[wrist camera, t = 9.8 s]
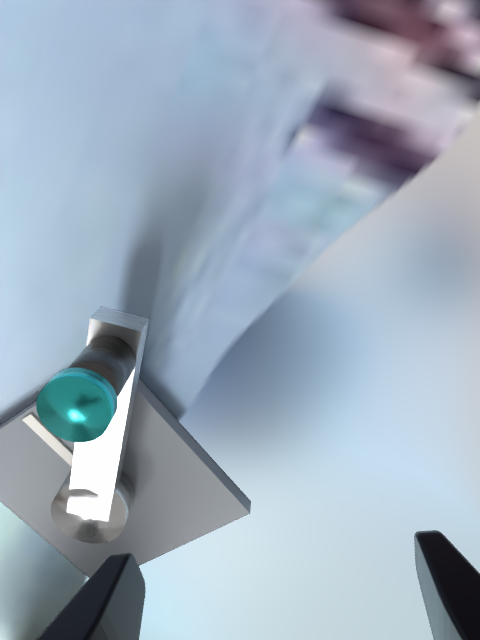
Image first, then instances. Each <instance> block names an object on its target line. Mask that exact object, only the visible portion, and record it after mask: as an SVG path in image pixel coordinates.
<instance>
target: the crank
mask: <svg viewBox="0 0 480 640" xmlns="http://www.w3.org/2000/svg"><path fill="white" fill-rule="evenodd" d="M148 324H149V318H145V317H141V316H137V315H133V314H129V313H125V312H122V311H118V310H114V309H110V308H106V307H102V306H101V307H100V308H99V309H98V310H97V311H96V312H95V313H94V314H93V315H92V317H91V318H90V322H89V330H88V339H87V347H86V348H85V349H84V350H83V351H82V353H81V354H80V355H79V356H78V357H77V359H76V360H75V361H74V362H73V363H72V365H71V366H70V367H69V368H67V369H64V370H62V371H60V372H58V373H57V374H56V375H54V376H53V378H52V379H51V380H50V381H49V382H48V383H47V385H46V386H45V387H44V388H43V389H42V390H41V392H40V393H39V395H38V397H37V402H36V409H37V413H38V416H39V418H40V420H41V422H42V423H43V425H44V426H45V427H46V428H47V429H48V430H49V431H50V432H52V433H53V434H54V435H56V436H58V437H60V438H62V439H64V440H67V441H71V442H75V448H74V457H73V465H72V470H71V471H70V472H69V474H68V476H67V477H66V479H65V481H64V482H63V484H62V486H61V488H60V489H59V491H58V493H57V494H56V496H55V498H54V499H53V501H52V504H51V508H50V512H51V516H52V519H53V521H54V523H55V524H56V526H57V527H58V528H59V529H60V530H61V531H62V532H63V533H65V534H66V535H68V536H69V537H71V538H73V539H75V540H78V541H81V542H85V543H92V544H99V543H106V542H109V541H112V540H114V539H115V538H117V537H118V536H119V535H120V534H121V532H122V531H123V529H124V526H125V523H126V521H127V518H128V515H129V512H130V510H131V507H132V504H133V502H134V498H135V491H134V487H133V485H132V483H131V481H130V480H129V478H128V477H127V476H126V475H125V474H124V473H122V467H123V462H124V456H125V451H126V445H127V440H128V434H129V429H130V423H131V418H132V412H133V406H134V401H135V395H136V390H137V384H138V379H139V373H140V368H141V362H142V357H143V351H144V346H145V340H146V335H147V329H148Z"/></svg>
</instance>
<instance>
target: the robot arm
mask: <svg viewBox="0 0 480 640" xmlns="http://www.w3.org/2000/svg"><path fill="white" fill-rule="evenodd" d="M414 541H415V561H416V570H417V575H418V579H419V584H420V588H421V591H422V595H423V599H424V603H425V607H426V611H427V615H428V618H429V623H430V627H431V630H432V634H433V638H434V640H480V573H479V572H478V571H477V570H476V569H475V568H474V567H473V566H472V565H471V564H470V563H469V562H468V560H467V559H466V558H465V557H464V556H463V555H462V554H461V553H460V552H459V551H458V550H457V549H456V548H455V547H454V546H453V544H452V543H451V542H450V541H449V540H448V539H447V538H446V537H445V536H444V535H443V534H442V533H441V532H439V531H435V530H433V531H419V532H416V533H415V536H414ZM144 599H145V581H144V578H143V576H142V573H141V571H140V568H139V566H138V563H137V561H136V558H135V556H134V555H133V554H132V553H129V552H128V553H115V554H112V555H110V556H109V557H108V558H107V559H106V560H105V561H104V562H103V563H102V565H101V566H100V567H99V568H98V569H97V570H96V572H95V573H94V574H93V575H92V576H91V577H90V579H89V580H88V581H87V582H86V583H85V584H84V585H83V587H82V588H81V589H80V590H79V591H78V592H77V594H76V595H75V596H74V597H73V598H72V599H71V601H70V602H69V603H68V604H67V605H66V606H65V607H64V609H63V610H62V611H61V612H60V613H59V614H58V616H57V617H56V618H55V619H54V620H53V621H52V623H51V624H50V625H49V626H48V627H47V628H46V630H45V631H44V632H43V633H42V634H41V635H40V636H39V638H38V639H37V640H139V635H140V628H141V620H142V612H143V605H144Z"/></svg>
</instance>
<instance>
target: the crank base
mask: <svg viewBox="0 0 480 640" xmlns="http://www.w3.org/2000/svg"><path fill="white" fill-rule="evenodd" d="M36 402H37V401H35V402H34V403H32V404H31V405H29V406H28V407H26V408H25V409H23V410H22V411H20V412H19V413H18V414H16V415H15V416H13V417H12V418H10V419H9V420H7V421H6V422H4V423H3V424H1V425H0V501H1V502H2V503H3V504H4V505H5V506H6V507H8V508H9V509H10V510H11V511H12V512H13V513H14V514H16V515H17V516H18V517H19V518H20V519H21V520H23V521H24V522H25V523H26V524H27V525H28V526H30V527H31V528H32V529H33V530H34V531H35V532H37V533H38V534H39V535H40V536H41V537H42V538H44V539H45V540H46V541H47V542H48V543H49V544H51V545H52V546H53V547H54V548H55V549H56V550H58V551H59V552H60V553H61V554H62V555H63V556H65V557H66V558H67V559H68V560H69V561H70V562H71V563H73V564H74V565H75V566H76V567H77V568H78V569H80V570H81V571H82V572H83V573H84V574H85V575H87V576H88V577H89V578H90V577H91V576H92V575H93V574H94V573H95V572H96V570H97V569H98V568H99V567H100V566H101V565H102V563H103V562H104V561H105V560H106V559H107V558H108V557H109V556H110V555H112V554H115V553H128V552H129V553H132V554H133V555H134V556H135V558H136V561H137V563H138V566H139V565H141V564H144V563H146V562H148V561H150V560H152V559H154V558H156V557H158V556H161V555H163V554H165V553H167V552H169V551H171V550H173V549H175V548H177V547H179V546H181V545H184V544H186V543H188V542H190V541H192V540H194V539H196V538H198V537H201V536H203V535H205V534H207V533H209V532H211V531H214V530H215V529H218V528H220V527H222V526H224V525H226V524H228V523H231V522H233V521H235V520H237V519H239V518H241V517H243V516H245V515H247V514H250V505H251V501H250V500H249V499H248V498H247V497H246V495H245V494H244V493H243V492H242V491H241V490H240V489H239V488H238V487H237V486H236V484H235V483H234V482H233V481H232V480H231V479H230V478H229V477H228V476H227V475H226V473H225V472H224V471H223V470H222V469H221V468H220V467H219V466H218V465H217V463H216V462H215V461H214V460H213V459H212V458H211V457H210V456H209V455H208V454H207V452H206V451H205V450H204V449H203V448H202V447H201V446H200V445H199V444H198V443H197V441H196V440H195V439H194V438H193V437H192V436H191V435H190V434H189V432H188V431H187V430H186V429H185V428H184V427H183V426H182V425H181V424H180V423H179V421H178V420H177V419H176V418H175V417H174V416H173V415H172V414H171V413H170V412H169V410H168V409H167V408H166V407H165V406H164V405H163V404H162V403H161V402H160V400H159V399H158V398H157V397H156V396H155V395H154V394H153V393H152V392H151V391H150V389H149V388H148V387H147V386H146V385H145V384H144V383H143V382H142V381H141V379H140V378H139V379H138V384H137V390H136V395H135V401H134V406H133V412H132V418H131V423H130V429H129V434H128V440H127V445H126V451H125V456H124V462H123V467H122V473H124V474H125V475H126V476H127V477H128V478H129V480H130V481H131V483H132V485H133V487H134V491H135V498H134V502H133V504H132V507H131V510H130V512H129V515H128V518H127V521H126V523H125V526H124V529H123V531H122V532H121V534H120V535H119V536H118V537H117V538H115V539H114V540H112V541H109V542H106V543H99V544H92V543H85V542H81V541H78V540H75V539H73V538H71V537H69V536H68V535H66V534H65V533H63V532H62V531H61V530H60V529H59V528H58V527H57V526H56V524H55V523H54V521H53V519H52V516H51V512H50V508H51V504H52V501H53V499H54V498H55V496H56V494H57V493H58V491H59V489H60V488H61V486H62V484H63V482H64V481H65V479H66V477H67V476H68V474H69V472H70V471H71V470H72V465H73V457H74V448H75V442H71V441H67V440H64V439H62V438H60V437H58V436H56V435H54V434H53V433H52V432H50V431H49V430H48V429H47V428H46V427H45V426H44V425H43V423H42V422H41V420H40V418H39V416H38V413H37V409H36Z"/></svg>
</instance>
